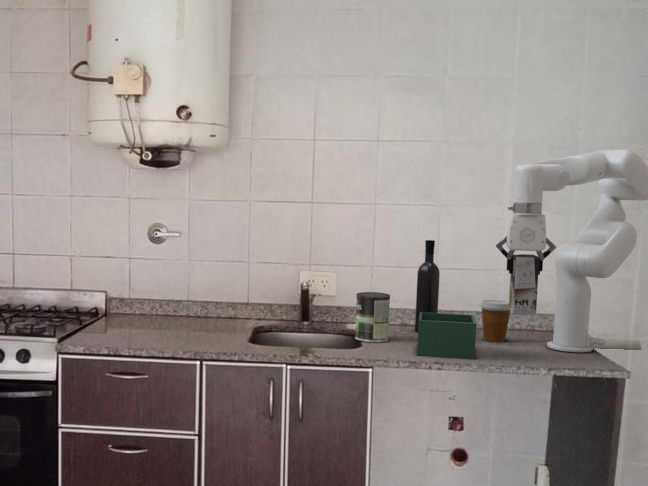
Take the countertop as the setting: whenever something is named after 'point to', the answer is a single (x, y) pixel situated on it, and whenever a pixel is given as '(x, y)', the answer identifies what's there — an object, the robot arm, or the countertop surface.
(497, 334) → the disposable coffee cup
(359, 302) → the coffee can
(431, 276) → the wine bottle
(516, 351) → the countertop surface
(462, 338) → the green storage bin
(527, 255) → the coffee box
